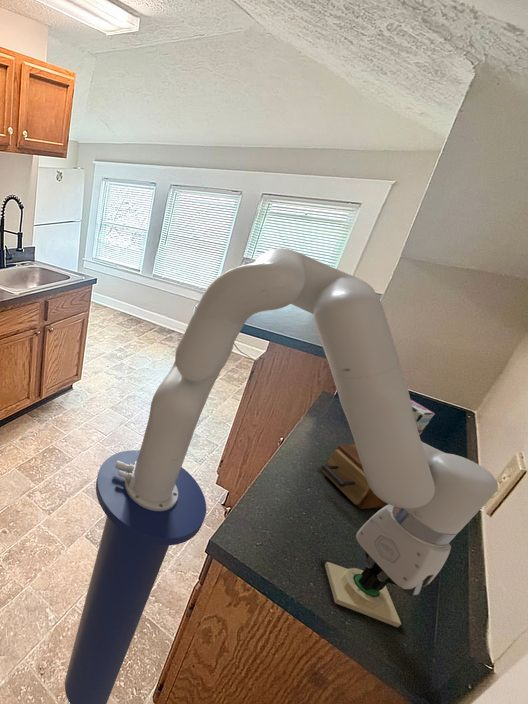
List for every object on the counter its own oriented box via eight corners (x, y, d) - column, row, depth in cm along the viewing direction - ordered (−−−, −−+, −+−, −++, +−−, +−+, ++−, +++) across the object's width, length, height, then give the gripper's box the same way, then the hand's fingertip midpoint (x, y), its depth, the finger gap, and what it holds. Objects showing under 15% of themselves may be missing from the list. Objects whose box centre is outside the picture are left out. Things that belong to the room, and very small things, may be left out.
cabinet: (359, 509, 91) (379, 480, 87) (322, 471, 101) (338, 444, 97) (405, 505, 94) (427, 478, 89) (364, 469, 104) (382, 443, 99)
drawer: (339, 505, 91) (355, 482, 87) (307, 472, 100) (320, 450, 96) (397, 501, 94) (415, 479, 90) (361, 469, 102) (375, 447, 99)
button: (354, 594, 71) (359, 589, 70) (348, 577, 74) (353, 571, 73) (377, 603, 70) (382, 597, 69) (370, 584, 73) (374, 579, 72)
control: (334, 603, 71) (342, 594, 69) (324, 564, 78) (330, 555, 76) (398, 627, 68) (407, 618, 67) (381, 585, 75) (389, 576, 73)
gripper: (364, 485, 68) (320, 549, 77) (453, 567, 55) (388, 632, 64) (398, 483, 70) (351, 546, 78) (493, 563, 57) (424, 627, 65)
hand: (368, 584), depth 71 cm, fingers closed
